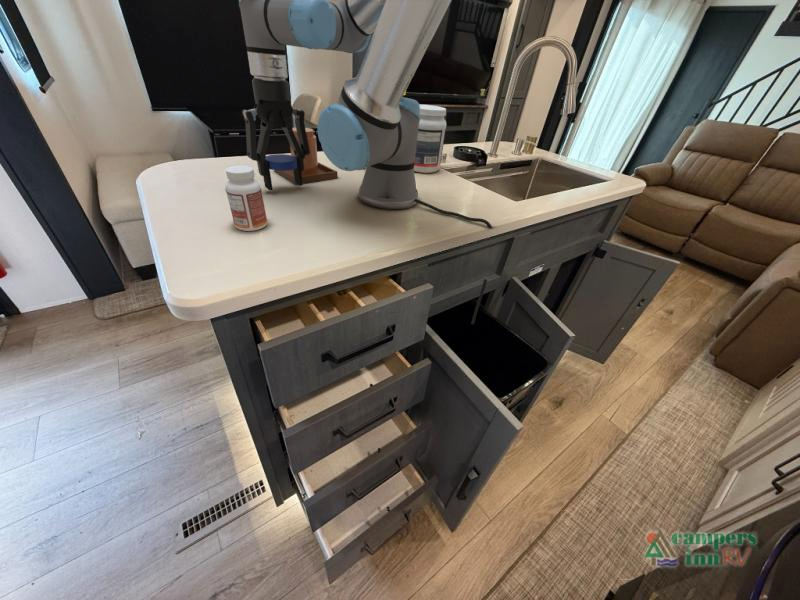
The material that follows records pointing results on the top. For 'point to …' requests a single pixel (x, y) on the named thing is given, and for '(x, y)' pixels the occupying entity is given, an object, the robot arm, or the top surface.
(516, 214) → the top surface
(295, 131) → the jar
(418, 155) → the supplement tub
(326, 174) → the tray
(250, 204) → the pill bottle
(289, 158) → the jar lid
